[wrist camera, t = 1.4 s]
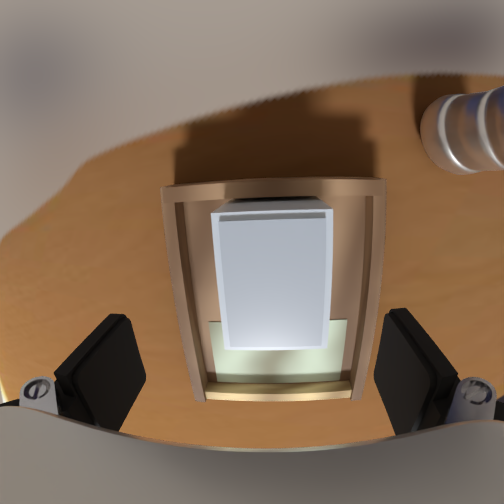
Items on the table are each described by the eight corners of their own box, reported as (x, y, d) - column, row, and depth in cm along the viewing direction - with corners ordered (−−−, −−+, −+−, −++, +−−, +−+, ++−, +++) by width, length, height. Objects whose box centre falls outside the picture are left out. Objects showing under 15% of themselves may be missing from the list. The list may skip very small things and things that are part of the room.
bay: (373, 177, 21) (397, 180, 16) (355, 380, 27) (364, 413, 22) (174, 184, 23) (148, 189, 18) (202, 382, 28) (190, 415, 24)
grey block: (314, 194, 21) (334, 210, 14) (314, 295, 23) (327, 350, 16) (233, 197, 22) (209, 214, 14) (240, 296, 24) (224, 352, 16)
